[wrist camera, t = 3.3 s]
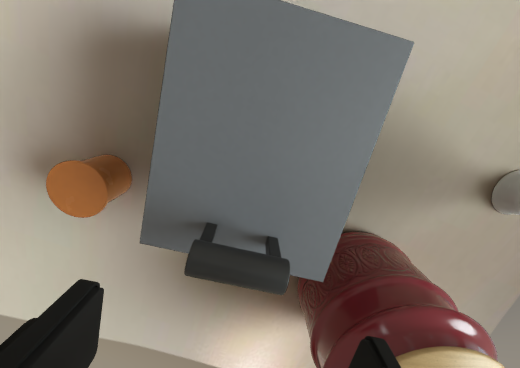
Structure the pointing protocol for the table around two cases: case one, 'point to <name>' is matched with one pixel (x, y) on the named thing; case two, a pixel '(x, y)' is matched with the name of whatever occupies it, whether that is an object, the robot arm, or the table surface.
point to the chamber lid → (264, 137)
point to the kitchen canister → (387, 311)
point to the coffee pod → (87, 184)
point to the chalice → (507, 194)
